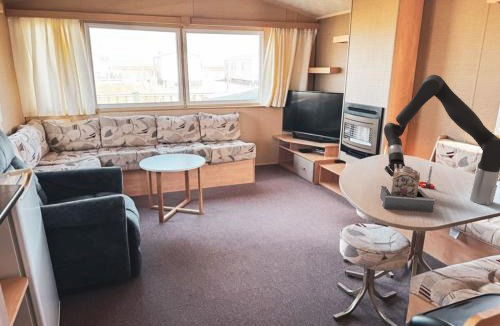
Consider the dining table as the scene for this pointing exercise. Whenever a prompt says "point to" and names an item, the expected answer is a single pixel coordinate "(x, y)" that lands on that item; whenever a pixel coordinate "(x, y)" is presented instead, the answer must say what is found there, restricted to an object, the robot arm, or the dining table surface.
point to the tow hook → (428, 184)
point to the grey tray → (407, 201)
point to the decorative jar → (405, 182)
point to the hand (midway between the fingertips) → (398, 183)
